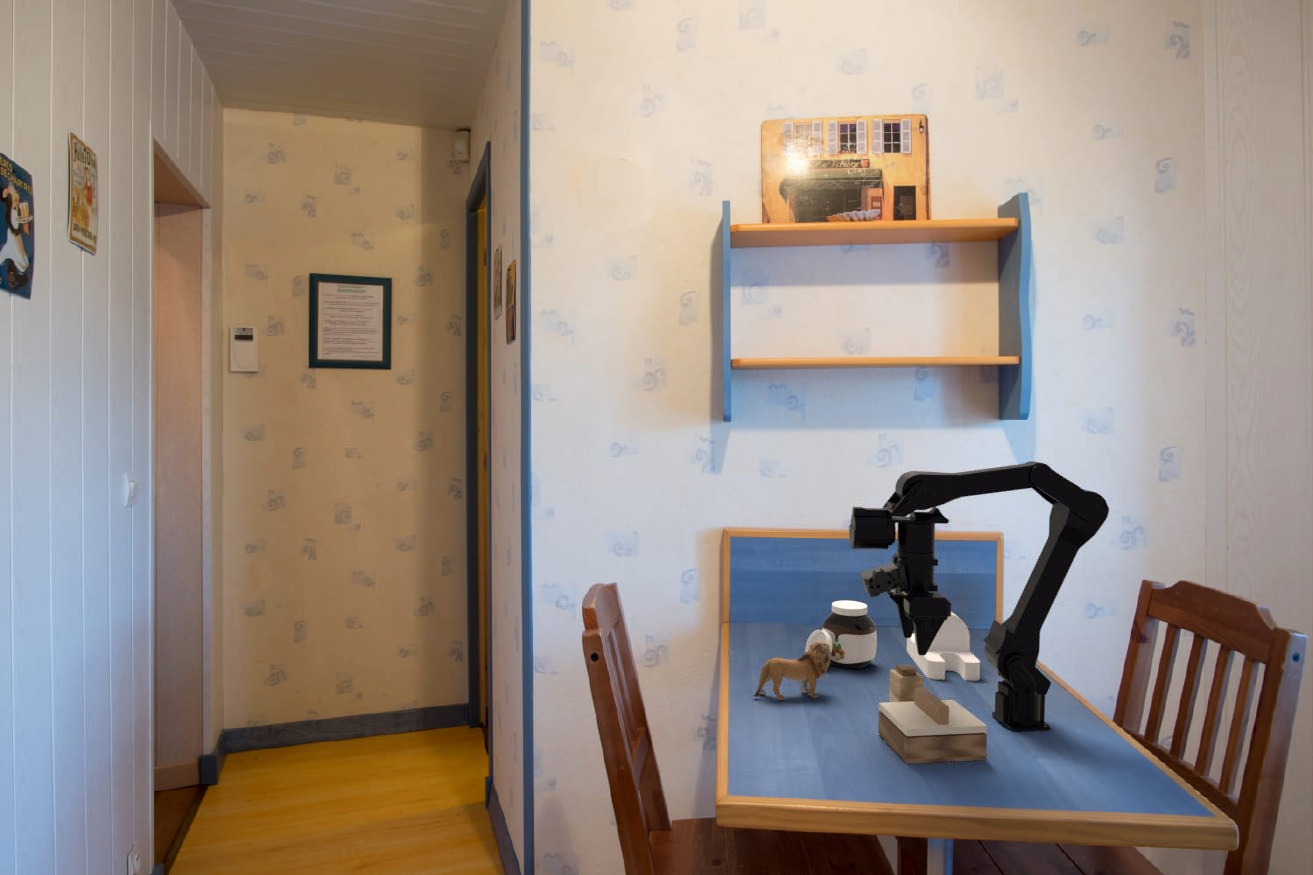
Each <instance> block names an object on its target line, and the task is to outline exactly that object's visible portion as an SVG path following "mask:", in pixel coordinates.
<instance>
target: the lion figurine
mask: <svg viewBox="0 0 1313 875" xmlns="http://www.w3.org/2000/svg"><path fill="white" fill-rule="evenodd" d="M831 655H832V654H831V651H830V649H829V645H827V644H826V643H824V642H820V641H819V642H816V643H813V644H811V645H810V649H809V650H808V651H807V652H806V651H805V653H804V654H803V655H802V656H801V657H799V658H796V659H786V658H782V657H781V658H780V657H772V658H771V659H769V660H768V661H766V662H765V664H764V665H763V667H762V669H761V671H760V675H759V681H758V688H757V690H756V691H755V692H754V694H753V697H754V698H755V697H758V696H759V695H766V693H767V691H766V690H765V689H764V686H765V685H766V684H768V683H769V682H770V681H772V683H773V687H772V692H773V694H774V695H775V697H776V698H777V699H778V700H779V701H785V700H786V697H785V695H783V694H781V693H780V687H781V684H782V681H783V678H785V679H787V680H788V681H792V682H794V681H795V682H799V681H801V692H802V693H803V694H809V695H810V698H813V697H814V698H813V699H818V698H819V695H818V693H816V688H817V681H818V679H820V678H821V679H822V678H823V677H824V676H825V675H826V673H827V671H828V668H829V666H830V664H831V663H830V659H831ZM808 685H809V687H808ZM817 697H818V698H817Z"/></svg>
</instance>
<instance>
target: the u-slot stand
mask: <svg viewBox="0 0 1313 875" xmlns="http://www.w3.org/2000/svg"><path fill="white" fill-rule="evenodd" d="M970 641H971V639H970V631H969V629H968V626H967V625H966V623H965V622H964V621H963V620H962V619H961V618H960V617H959V616H958V615H957V614H955V613H954V612H952V611H951V616H949V617H948V618H947V620H945V621H944V623H943V624H942V626H941V628H940V629H939V631H938V633H937V635H936V636H935V638H934V640H933V642H932V644H931V646H930V648H929V650H928V652H927V654H926V655H919V654H918V651H917V645H916V638H915V633H913V634H912V636H911V638H906V652H907V653H908V655H909V656H910V657H911V659H912V660H913V662H915V664H916V665H917V666H918V668H919V669H920V671H922V673H923V674H924V675H926V676H925V677H926V678H927V677H928V678H927V679H929V678H930V680H940V679H941V680H945V679H946V671H949V672H950V671H951V672H955V673H958V675H959V676H960V677H961V678H962V679H963V680H964V681H972V682H973V681H980V677H981V676H980V674H981V673H980V672H981V669H980V668H981V660H980V659H979V658H977V657H976V655H974V653H973V652H972V651H970V650H971V646H970V644H971V642H970Z"/></svg>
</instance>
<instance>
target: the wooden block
mask: <svg viewBox="0 0 1313 875" xmlns="http://www.w3.org/2000/svg"><path fill="white" fill-rule="evenodd" d="M895 668H896V669H889V680H888V681H889V682H888V683H889V685H888V686H889V687H888V689H889V690H888V697H889V698H888V702H911V701H915V688H924V678H925V677H924V676H923V675H922V674H920V673H919V672H918V670H917V668H915V667H914V666H913V665H912V664H896V666H895Z"/></svg>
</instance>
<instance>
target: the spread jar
mask: <svg viewBox="0 0 1313 875" xmlns="http://www.w3.org/2000/svg"><path fill="white" fill-rule="evenodd" d="M876 627H877V626H876V624H875V621H873V619H872V618H871V617H870V616H869V615H868V605H867V604H866V603H865V602H864V603H863V602H861V601H855V600H835V601H833V602H832V603H831V613H830V614H828V616H827V617H825V620H824V621H823V623H822V629H815V630H814V631H812V632H811V633H810V635H809V636H808V638H807V640H806V644H805V652H807V651H808V650H809V649H810V645H811V644H813V643H816V642H819V641H820V642H824V643H826V644H827V645H829V649H830V651H831V654H832V655H831V659H830V664H831V665H833V666H834V667H837V668H840V669H841V668H842V669H846V668H859V669H862V668H865V667H867V666H869V664H870V663H872V661H873V660H874V659H875V657H876V654H877V643H878V642H877V633H878V632H877V628H876Z"/></svg>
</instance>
